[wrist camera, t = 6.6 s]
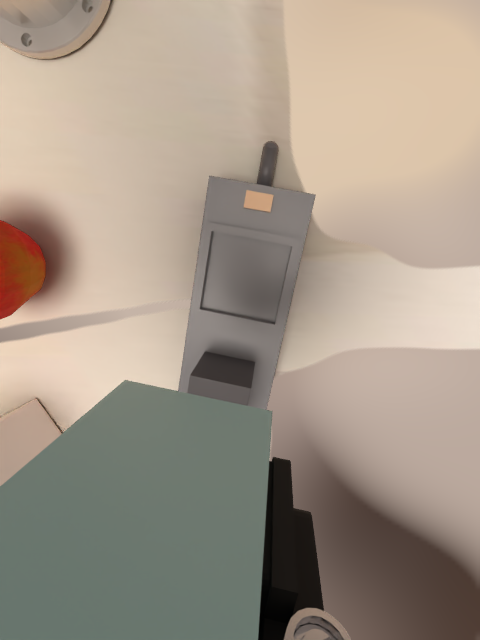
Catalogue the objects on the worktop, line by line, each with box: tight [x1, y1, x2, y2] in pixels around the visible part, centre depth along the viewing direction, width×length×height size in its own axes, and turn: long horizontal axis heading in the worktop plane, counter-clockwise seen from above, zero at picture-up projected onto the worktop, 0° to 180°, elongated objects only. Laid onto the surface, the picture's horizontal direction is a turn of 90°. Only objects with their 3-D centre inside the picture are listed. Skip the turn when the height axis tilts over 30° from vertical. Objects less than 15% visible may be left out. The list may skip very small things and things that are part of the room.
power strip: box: [178, 141, 315, 410], centre depth 25 cm, size 25×8×8 cm, turn 170°
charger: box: [0, 380, 272, 640], centre depth 8 cm, size 5×5×7 cm
